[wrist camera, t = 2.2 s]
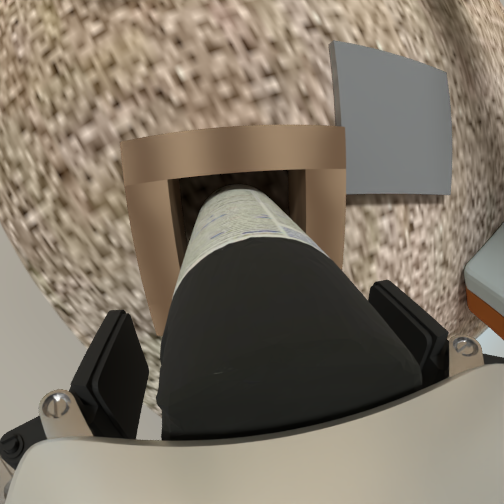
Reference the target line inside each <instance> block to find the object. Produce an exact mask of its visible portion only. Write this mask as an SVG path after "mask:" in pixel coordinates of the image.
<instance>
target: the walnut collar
mask: <svg viewBox="0 0 504 504" xmlns="http://www.w3.org/2000/svg"><path fill="white" fill-rule="evenodd" d="M120 148H121V159H122V169H123V178H124V186H125V193H126V200H127V207H128V213H129V219H130V225H131V231H132V236H133V241H134V247H135V251H136V256H137V261H138V265H139V270H140V274H141V279H142V283H143V287H144V291H145V295H146V299H147V302H148V306H149V310H150V313H151V317H152V320H153V324H154V327H155V331H156V334H157V336H163V333H164V329H165V325H166V321H167V317H168V313H169V309H170V305H171V302H172V298H173V294H174V290H175V286H176V283H177V280H178V277H179V273H180V270H181V266H182V263H183V260H184V257H185V254H186V250H187V241H186V234H185V226H184V218H183V210H182V202H181V193H180V183H179V178H184V177H193V176H203V175H213V174H224V173H236V172H251V171H268V170H288V194H289V218H291V219H292V220H293V222H295V223H296V224H297V225H298V226H299V227H300V228H301V229H302V230H303V231H304V232H305V233H306V234H307V235H308V236H309V237H310V238H311V239H312V240H313V241H314V242H315V243H316V244H317V245H318V246H319V247H320V248H321V249H322V250H323V251H324V252H325V253H326V254H327V255H328V256H329V257H330V259H331V260H333V261H334V262H335V263H336V265H337V266H338V267H339V268H340V269H341V270H342V264H343V251H344V235H345V212H346V137H345V127H341V126H323V125H252V126H233V127H220V128H208V129H198V130H190V131H182V132H174V133H167V134H160V135H154V136H148V137H143V138H137V139H132V140H127V141H122V142H120Z"/></svg>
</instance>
